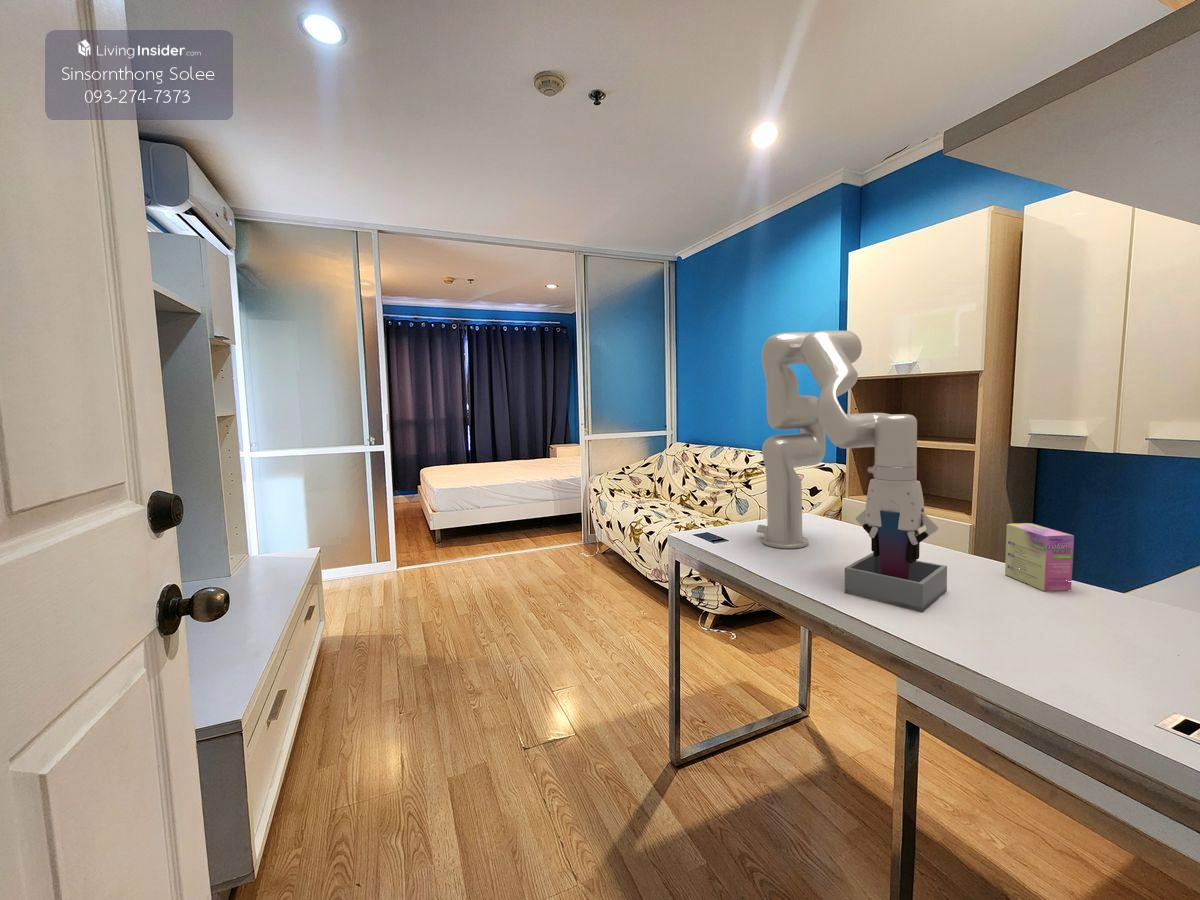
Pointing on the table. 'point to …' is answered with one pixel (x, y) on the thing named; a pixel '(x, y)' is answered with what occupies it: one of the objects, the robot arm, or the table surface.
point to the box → (1039, 556)
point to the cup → (893, 547)
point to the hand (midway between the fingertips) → (894, 557)
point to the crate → (897, 583)
